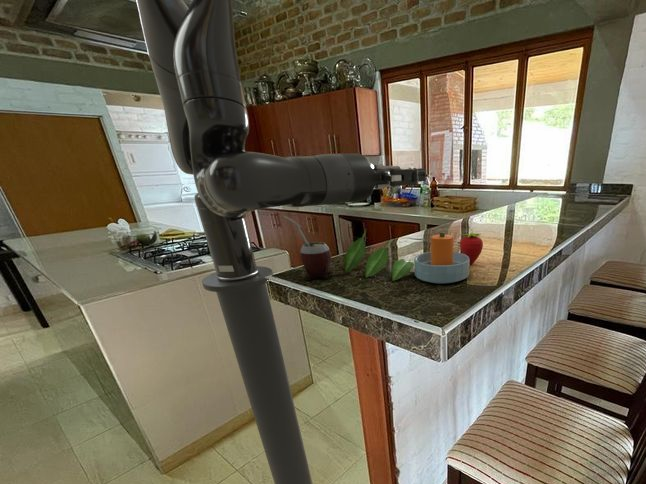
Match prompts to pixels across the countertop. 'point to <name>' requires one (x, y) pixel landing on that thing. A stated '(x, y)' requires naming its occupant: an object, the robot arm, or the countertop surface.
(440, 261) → the vegetable
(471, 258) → the strawberry
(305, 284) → the countertop surface
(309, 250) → the mate gourd
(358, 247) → the leaves
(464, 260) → the bowl
